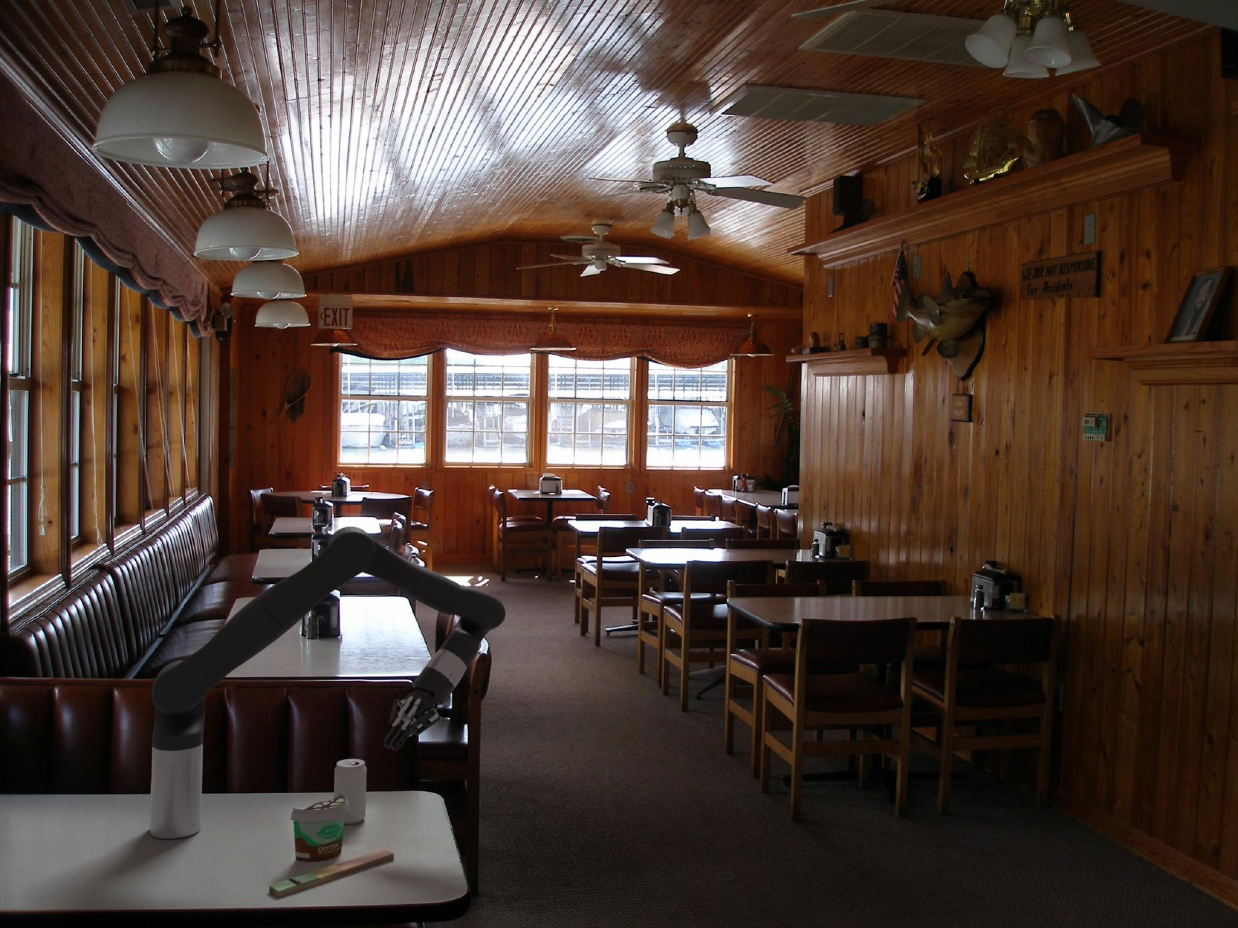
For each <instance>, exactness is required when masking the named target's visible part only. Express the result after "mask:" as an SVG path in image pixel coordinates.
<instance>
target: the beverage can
mask: <svg viewBox="0 0 1238 928" xmlns="http://www.w3.org/2000/svg"><path fill="white" fill-rule="evenodd" d="M367 768H368V767H366V761H364V760H363V759H358V758H348V759H347V758H346V759H342V760H341V759H340V760H338V761H337V762H336V766H335V768H334V783H333V789H334V791H333V799H334V798H337V797H338V793H342V794H344V795H345V796H346V797H347V800H348V803H349V808H350V810H349V812H348V813H347V814H346V815H345V824H344V825H355V824H358V823H361V822H362V821H363V820H364V819H365V818H366V808H367V807H366V805H367V803H366V802H367V771H368V769H367Z"/></svg>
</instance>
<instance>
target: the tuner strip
mask: <svg viewBox="0 0 1238 928" xmlns="http://www.w3.org/2000/svg"><path fill="white" fill-rule="evenodd" d="M394 856H395V853H394V852H392V851H389V850H387V849H386V848H382V849H381V850H377V851H374V852H371V853H370V852H369V853H368V854H365V855H361V856H358V857H355V858H351V859H348V860H346V861H343V862H340V863H336V864H333V865H330V866H327V867H324V868H320V869H317V870H315V871H311V872H309V873H305V874H302V875H299V876H295V877H293V876H289V877H288V879H285V880H284V881H280V882H277V883H274V884H270V885H269V887H268V890H269V891H268V893H270V894H272V895H274V896H276V897H278V898H281V897H283V896H287V895H290V894H292V893H293V894H294V893H297V892H299V891H302V890H305V889H308V888H311V887H313V886H317V885H320V884H323V883H326V882H329V881H333V880H335V879H339V878H341V877H343V876H347V875H350V874H354V873H357V872H360V871H363V870H365V869H368V868H372V867H375V866H378V865H381V864H383V863H387V862H389V861H393V860H394V858H395V857H394ZM392 859H393V860H392ZM386 861H387V862H386ZM377 864H378V865H377ZM304 888H305V889H304Z"/></svg>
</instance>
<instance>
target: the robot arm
mask: <svg viewBox="0 0 1238 928" xmlns="http://www.w3.org/2000/svg"><path fill="white" fill-rule="evenodd" d="M361 574H366V575H369V576H372V577H374V578H376V579H379V580H381V581H383V582H385V583H387V584H389V585H390V586H392V587H394V588H396V589H397V590H399V591H401V592H402V593H403V594H406V595H407V596H409V597H410V598H412V599H414V600H416V601H418V602H419V603H421V604H423V605H425V606H426V607H428V608H431V609H433V610H435V611H437V612H439V613H441V614H444V615H448V616H459V619H458V620H457V623H456V624H455V626H454V629H453V630H452V632H451V633H450V635H449V636H448V637H447V638H446V639H445V641H444V642H443V644H441V646H440V647H439V649H438V650H437V652H435V654H433V656H432V657H430V659H429V661H428V662H427V663H426V665H425V666H424V667H423V669H422V670H421V672H420V673H419V674H418V676H417V677H416V678H415V680H414V681H413V682H412V691H411V692H409V694H408V695H407V696H406V697H405V698H404V699H402V700H400V699H399V698H395V699H394V700H393V701H392V707H391V710H390V715H389V719H388V722H389V723H390V724H391V726H392V727H391V729H390V730H389V731H388V733H387V735H386V736H385V737H384V739H383V742H382V744H383V745H384V747H386V748H387V749H389V750H391V749H392V750H393V751H395V752H397V751H399V749H401V748H402V747H403V745H404V744H405V742H406V740H407V739H408V738H409V737H412V736H413V735H414V736H417V737H418V736H419V735H421V734H422V733H423V732H425V731H426V730H427V729H429V728H431V727H432V726H433V725H435V724H436V723H437V722H439V721H440V719H441V716H440V715H439V714H438V712H437V710H438V707H439V706H443V705H444V704H445V703H446V701H447V700H448V698H449V697H450V695H451V694H452V693H453V691H454V690H455V688H457V685H458V684H459V683H460V681H461V679H462V678H463V676H464V674H465V672H466V671H467V669H468V668H469V667H470V665H471V663H472V662H473V661H474V659H475V658H476V656H477V654H478V653H479V651H480V644H481V643H482V642H483V640H484V638H485V636H487V634H488V633H489V632H491V631H492V630H495V629H496V628H498V627H500V626H501V625H502V624H503V623H504V621H505V619H506V615H507V614H506V612H507V611H506V609H505V606H504V604H503V603H502V601H500V599H499V598H497V597H495V596H493V595H492V594H490V593H487V592H484V591H482V590H478V589H475V588H472V587H469V586H468V587H467V586H464V585H461V584H460V583H458V582H456V581H454V580H452V579H450V578H449V577H446V576H444V575H441V574H440V573H437V572H435V571H434V570H432V569H429V568H427V567H425V566H422V565H420V564H417V563H416V562H413V561H411V560H410V559H407V558H404V557H403V556H402V555H399V554H397V553H395V552H394V551H392V550H391V549H389V548H387V547H386V546H384V545H383V544H381V543H380V542H379V541H377V539H374V538H373V537H372V536H371V535H369V533H368V532H366V530H365V529H362V528H361V527H358V526H345V527H344V526H343V527H341V528H339V529H337V530H336V531H335V532H334V533H332V535H331V536H330V537H329V540H328V543H327V546H326V547H325V548H324V549H323V550H322V551H321V552H320V553H319V554H318V555H317V556H316V557H315V558H314V559H313V560H312V561H311V562H309V563H307V565H306V566H304V567H303V568H301V569H300V570H298V571H297V572H295V573H293V574H291V575H290V576H288V577H286V578H283V579H282V580H280V581H278V582H277V583H274V584H273V585H271V586H270V587H268V588H266V589H265V590H264V591H262V592H261V593H259V594H258V595H257V596H255V597H254V598H253V599H252V600H250V601H249V602H248V603H247V604H246V605H244V606H243V607H241V609H239V610H238V611H237V612H236V613H235V614H234V615H233V616H232V617H231V618H230V619H229V620H228V621H227V622H226V623H225V624H224V625H222V627H221V628H220V630H218V631H217V632H216V634H215V635H214V636H213V637H211V639H210V640H209V641H208V642H207V643H205V644H204V645H203V646H202V647H201V648H199V649H198V650H196V651H195V652H193V653H192V654H191V655H190V656H188V657H187V658H185V659H181V660H175V661H172V662H170V663H168V664H166V665H165V666H164V667H163V668H162V669H161V670H160V671H159V672H158V674H157V676H156V678H155V679H154V681H153V684H152V688H151V698H152V702H153V704H154V710H155V711H154V712H155V713H154V724H153V730H152V744H151V745H152V748H151V749H152V750H151V753H152V754H151V782H150V806H149V807H150V808H149V809H150V811H149V813H150V814H149V815H150V816H149V829H150V830H149V831H150V833H149V834H150V835H151V836H152V837H154V838H157V839H165V840H169V839H170V840H171V839H181V838H186V837H188V836H192V835H195V834H196V833H198V832H200V830H201V828H202V797H203V796H202V795H203V794H202V791H203V790H202V789H203V754H204V753H203V752H204V750H203V749H204V748H203V747H204V746H203V745H204V729H205V719H206V717H205V716H206V712H205V711H206V710H205V709H206V696H207V694H208V693H210V692H211V691H212V690H213V689H214V688H215V687H216V686H217V685H218V684H220V682H221V681H223V679H224V678H225V677H227V676H228V675H229V674H230V673H232V672H233V671H234V670H236V669H237V668H239V667H240V666H242V665H244V664H245V663H246V662H247V661H250V660H251V659H252V658H254V657H255V656H257V655H258V654H259V653H260V652H262V651H263V650H265V649H266V648H268V647H269V646H270V645H272V644H273V643H274V642H276V641H277V640H279V638H280V637H282V636H283V635H285V633H287V632H288V631H289V630H291V629H292V628H293V627H294V626H295V625H297V623H298V622H300V621H301V620H302V619H303V618H304V617H305V616H306V615H308V614H309V613H310V612H311V611H312V610H313V609H314V608H315V607H316V606H317V605H319V603H321V602H322V601H323V600H324V599H325V598H326V597H328V595H329V594H331V593H333V592H334V591H335V590H337V589H339V588H341V586H343V585H345V584H347V583H348V582H349V581H351V580H353V579H354V578H355V577H357V576H360V575H361ZM402 721H403V722H402Z"/></svg>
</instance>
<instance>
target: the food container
mask: <svg viewBox="0 0 1238 928" xmlns="http://www.w3.org/2000/svg"><path fill="white" fill-rule="evenodd" d="M349 810H350V808H349V803H348V800H347V797H346V796H345V795H344V794H342V793H338V797H337V798H334V797H333V799H329V800H324V801H317V802H315V803H314V804H312V805H310V806H309V807H306V808H303V809H300V808H295V807H293V808H292V811H291V815H290V820H291V821H293V832H294V833H293V834H294V837H293V838H294V853H295V856H294V857H295V861H298V862H302V861H304V862H303V863H320V861H321V862H327V861H330V859H331V860H333V859H335V858H337V857H339V856H340V855H341V853H342V850H343V849H342V848H343V840H344V839H343V838H344V833H345V832H344V830H345V825H346V824H345V815H346V814H347V813H348V812H349Z"/></svg>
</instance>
